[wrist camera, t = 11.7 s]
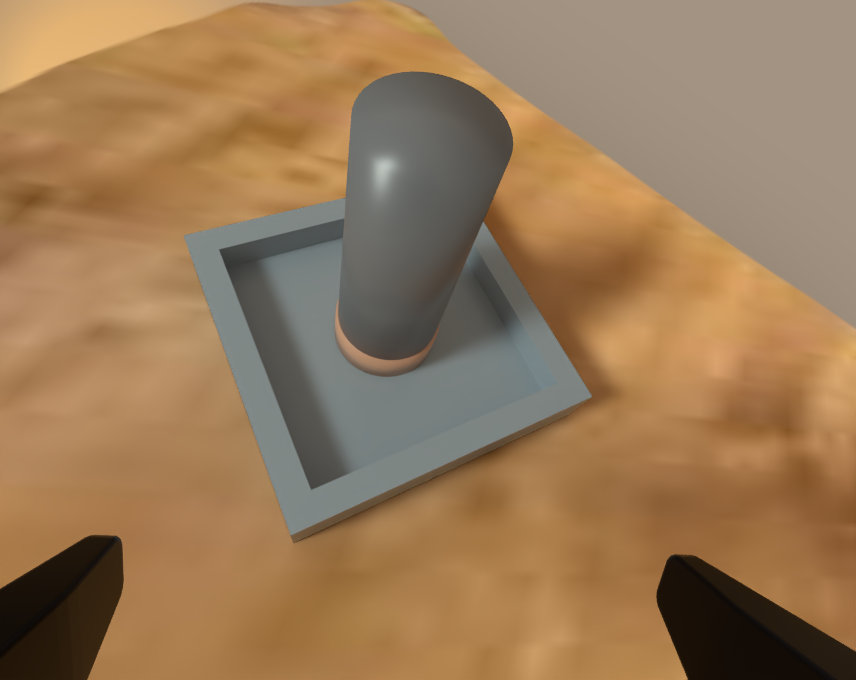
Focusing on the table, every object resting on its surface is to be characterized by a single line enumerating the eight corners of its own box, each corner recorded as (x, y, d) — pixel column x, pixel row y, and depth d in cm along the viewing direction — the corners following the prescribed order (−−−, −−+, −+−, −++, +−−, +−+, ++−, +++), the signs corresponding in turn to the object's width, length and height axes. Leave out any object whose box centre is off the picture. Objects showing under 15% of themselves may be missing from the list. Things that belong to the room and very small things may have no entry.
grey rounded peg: (449, 319, 26) (540, 120, 15) (403, 395, 23) (473, 222, 13) (367, 273, 26) (401, 47, 15) (314, 344, 24) (312, 134, 13)
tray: (568, 414, 26) (592, 396, 23) (293, 543, 21) (290, 535, 18) (443, 203, 30) (452, 172, 28) (194, 267, 25) (183, 235, 23)
